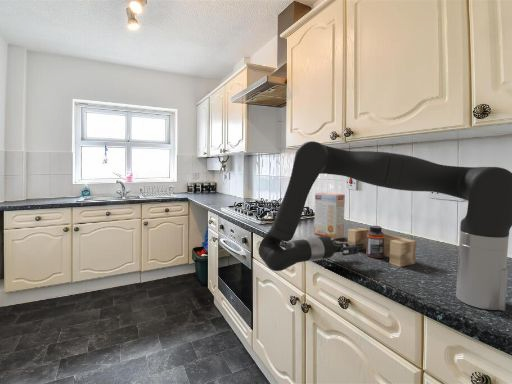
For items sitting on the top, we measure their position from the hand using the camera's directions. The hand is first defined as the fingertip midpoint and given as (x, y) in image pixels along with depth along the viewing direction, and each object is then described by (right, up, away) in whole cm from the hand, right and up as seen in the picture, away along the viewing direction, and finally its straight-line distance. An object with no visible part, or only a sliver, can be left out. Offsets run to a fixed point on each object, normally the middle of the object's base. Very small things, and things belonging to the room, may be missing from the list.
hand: (352, 243), depth 100 cm
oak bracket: (+12, -6, +6) cm, 15 cm away
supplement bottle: (+10, -6, +5) cm, 13 cm away
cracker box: (+1, -3, +36) cm, 36 cm away
